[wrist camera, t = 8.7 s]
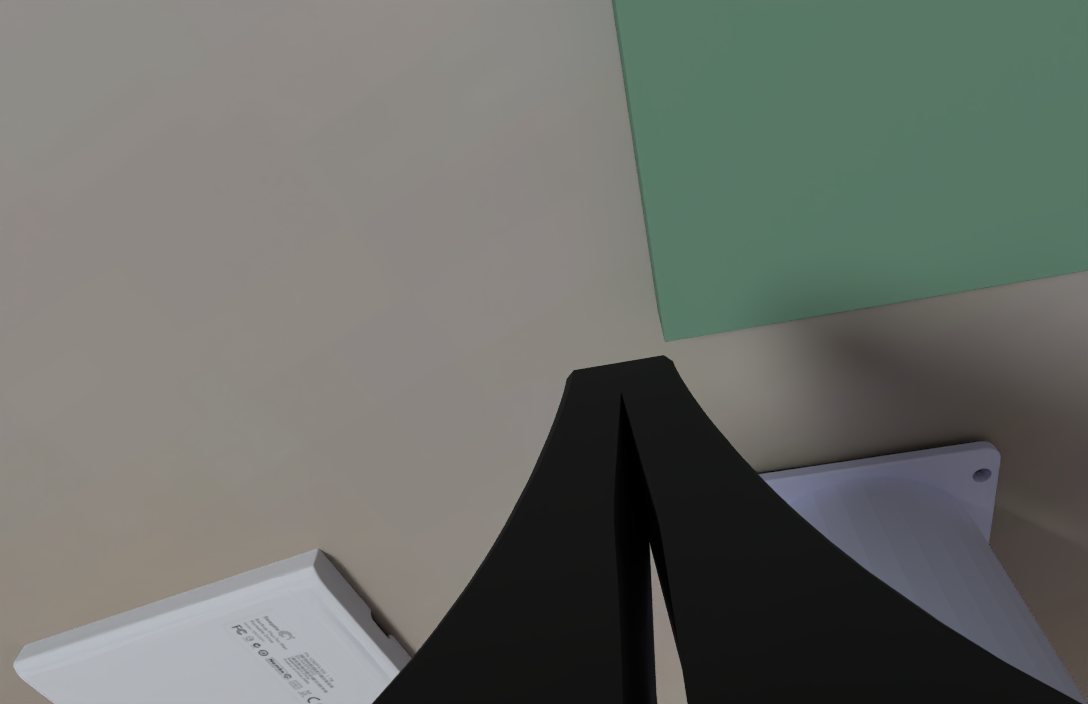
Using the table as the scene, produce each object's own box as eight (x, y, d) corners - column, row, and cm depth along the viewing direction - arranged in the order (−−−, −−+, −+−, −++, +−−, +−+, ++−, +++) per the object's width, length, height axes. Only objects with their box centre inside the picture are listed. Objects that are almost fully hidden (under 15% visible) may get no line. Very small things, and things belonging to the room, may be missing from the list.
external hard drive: (33, 630, 29) (323, 534, 26) (175, 747, 33) (439, 675, 30) (7, 669, 28) (310, 573, 25) (158, 786, 32) (434, 715, 29)
